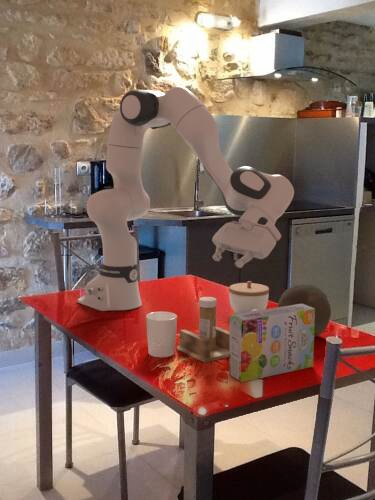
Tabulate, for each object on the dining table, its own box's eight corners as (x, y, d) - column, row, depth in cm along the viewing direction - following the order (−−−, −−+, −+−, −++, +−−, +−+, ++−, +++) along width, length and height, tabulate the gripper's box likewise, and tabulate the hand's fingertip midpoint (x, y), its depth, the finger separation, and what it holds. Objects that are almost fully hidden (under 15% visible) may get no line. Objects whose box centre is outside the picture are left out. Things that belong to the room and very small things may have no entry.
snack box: (299, 360, 146) (301, 302, 143) (313, 367, 141) (316, 308, 138) (227, 375, 136) (229, 313, 133) (240, 383, 131) (242, 319, 128)
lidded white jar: (250, 307, 193) (251, 275, 191) (276, 317, 183) (277, 282, 181) (220, 313, 186) (221, 279, 184) (245, 323, 176) (246, 288, 174)
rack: (176, 349, 153) (177, 330, 152) (209, 341, 159) (209, 322, 158) (204, 362, 143) (205, 342, 142) (238, 353, 150) (238, 334, 149)
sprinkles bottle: (219, 349, 150) (220, 299, 148) (205, 352, 148) (205, 301, 146) (209, 344, 154) (209, 295, 152) (195, 347, 152) (195, 297, 149)
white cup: (149, 359, 145) (149, 321, 143) (143, 349, 152) (143, 312, 151) (180, 357, 147) (180, 319, 145) (172, 346, 154) (172, 310, 153)
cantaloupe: (310, 326, 173) (313, 277, 170) (339, 341, 160) (342, 289, 157) (269, 331, 168) (271, 281, 165) (295, 347, 155) (297, 293, 152)
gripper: (225, 212, 167) (196, 248, 163) (274, 222, 151) (244, 262, 147) (236, 227, 171) (208, 262, 167) (286, 237, 154) (256, 277, 151)
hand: (226, 262), depth 157 cm, fingers open, 8 cm apart
